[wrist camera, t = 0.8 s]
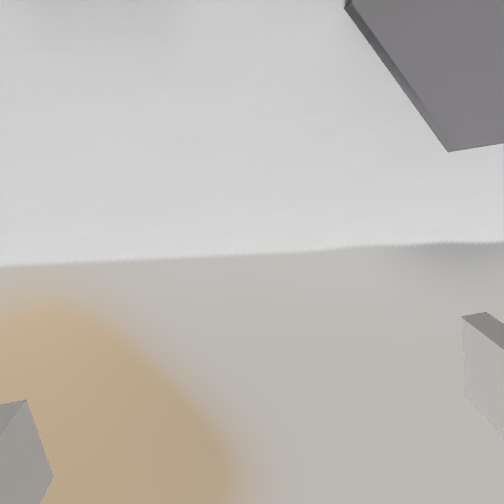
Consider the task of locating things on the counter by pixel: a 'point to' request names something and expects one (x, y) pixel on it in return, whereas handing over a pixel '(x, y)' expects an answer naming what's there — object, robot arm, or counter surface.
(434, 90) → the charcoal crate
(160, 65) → the counter surface
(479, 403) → the robot arm
